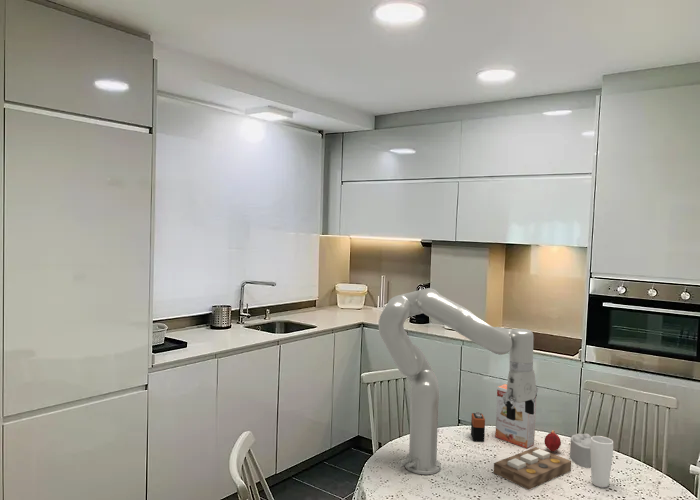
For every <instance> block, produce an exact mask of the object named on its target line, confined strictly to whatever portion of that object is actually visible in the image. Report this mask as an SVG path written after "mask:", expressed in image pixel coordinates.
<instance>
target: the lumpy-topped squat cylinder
mask: <svg viewBox="0 0 700 500" xmlns="http://www.w3.org/2000/svg"><path fill="white" fill-rule="evenodd" d="M591 437H592V436H591V435H590V434H589V433H576V434H572V436H571V437H570V446H569V447H570V448H569V449H570V450H569V459H570V461H571V462H573V463H575V464H576V465H577V466H578V467H581V468H586V469H591V454H590V446H591Z"/></svg>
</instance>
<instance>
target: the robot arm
mask: <svg viewBox="0 0 700 500" xmlns="http://www.w3.org/2000/svg"><path fill="white" fill-rule="evenodd" d="M421 314H424V315H425V316H427V317H429V318H431V319H432V320H434V321H437V322H438V323H441V324H443V325H444V326H446V327H448V328H449V329H451V330H453V331H455V332H456V333H457V334H459V335H461V336H463V337H465V338H466V339H468V340H470V341H471V342H473V343H475V344H477V345H479V347H482V348H484V349H486V350H487V351H489V352H492V353H493V354H495V355H500V356H501V355H502V356H503V355H506V354H508V353H509V371H508V375H507V382H506V383H507V384H506V385H507V392H506V393H505V394H504V395H503V396H502V398H503V401H504V404H505V406H506V407H507V416H506V417H507V418H508V419H510V420H513V421H514V420H515V413H516V409H515V408H514V407H515V405H516V403H517V402H518V403H521V402H525V412H526V413H528V414H531V415H533V414H534V403H535V398H536V399H537V395H538V394H537V393H538V392H539V387H537V384H536V382H537V380H536V374H535V370H534V333H533V331H532V330H530V329H528V328H527V329H526V328H507V327H500V326H493V325H491V324H489V323H487V322H485V321H484V320H482V319H481V318H480V317H478V316H477V315H475V314H474V313H473V312H472V311H471V310H469V309H468V308H466V307H465V306H463V305H461V304H459V303H457V302H455V301H453V300H451V299H449V298H448V297H445V296H444V295H442V294H440V293H439V292H438V290H437V289H434V288H431V287H428V288H423V289H419V290H415V291H411V292H406V293H401V294H399V295H394V296H393V297H391V298H390V299H389V300H388V301H387V304H386V306H385V307H383V310H382V311H381V314H380V316H379V319H378V331H379V335H380V337H381V340H382V341H383V344H384V345H385V347H386V349H387V351H388V353H389V355H390V357H391V359H392V360H393V362H394V363H395V366H396V368H397V370H398V372H399V373H401V375H403V376H405V377H406V378H407V380H408V381H409V383H410V401H409V402H410V409H409V442H408V443H409V448H408V449H409V451H408V453H407V454H406V457H405V459H401V460H399V461H398V466H399V467H400V468H401V467H405V468H406V470H408V471H409V472H411V473H414V474H417V475H418V474H419V475H432V474H433V475H434V474H437V473H438V472H440V471H441V469H442V465H441V463H440V461H439V460H438V457H437V456H438V455H437V453H438V452H437V451H438V431H439V429H438V427H439V426H438V424H439V422H438V421H439V404H440V402H439V401H440V386H439V379H438V377H437V375H436V374H435V372H434V369H433V368H432V365H430V363H429V361H428V359H427V357H426V356H425V353H424V352H423V351H422V349H421V348H420V347H419V346H417V345H416V344H413V342H412V341H411V339H410V336H409V335H408V333H407V331H406V329H405V328H404V327H405V326H404V324H405V322H406V321H407V319H408V318H410V317H413V316H416V315H421ZM511 401H513V403H512V404H511V403H510V402H511Z"/></svg>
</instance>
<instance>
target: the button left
mask: <svg viewBox="0 0 700 500" xmlns="http://www.w3.org/2000/svg"><path fill="white" fill-rule="evenodd" d="M508 466H510V467H513V468H515V469H517V470H520V469H522V468H525V467H526V463H525V462H523V461H521V460H518V459H516V458H515V459H512V460H509V461H508Z"/></svg>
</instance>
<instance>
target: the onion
mask: <svg viewBox="0 0 700 500" xmlns="http://www.w3.org/2000/svg"><path fill="white" fill-rule="evenodd" d="M543 441H544V445H545V447H546V448H547V449H548V450H549V452H550V453H553V452H555V451H557V450H559V449H560V448H561V446H562V441H561V438H560V437H559V435H558V434H557V433H556V432H555V430H551V432H550V433H548V434H547V435H546V436H545V437H544V440H543Z"/></svg>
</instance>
